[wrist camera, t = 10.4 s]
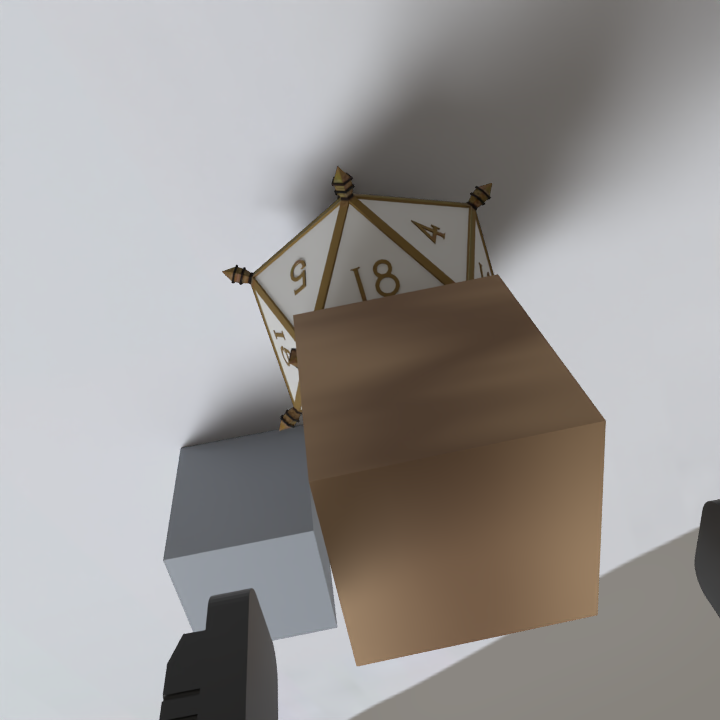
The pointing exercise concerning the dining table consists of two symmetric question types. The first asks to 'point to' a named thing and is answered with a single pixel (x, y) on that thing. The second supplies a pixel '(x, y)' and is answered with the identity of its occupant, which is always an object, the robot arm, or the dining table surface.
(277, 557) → the slate block
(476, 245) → the game die
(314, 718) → the dining table surface
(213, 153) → the dining table surface
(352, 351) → the walnut block
